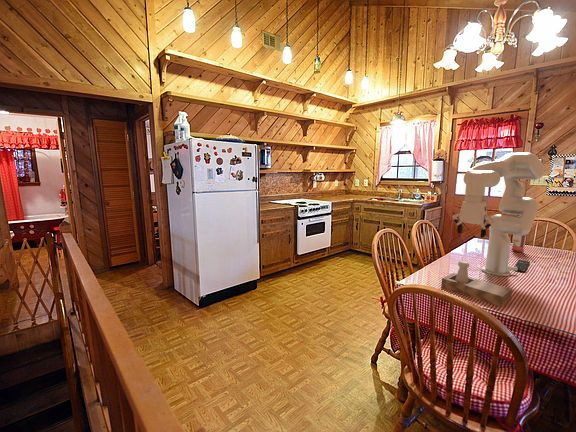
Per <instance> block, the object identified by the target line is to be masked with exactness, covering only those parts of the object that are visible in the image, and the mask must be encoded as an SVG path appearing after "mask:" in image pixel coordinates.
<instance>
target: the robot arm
mask: <svg viewBox="0 0 576 432" xmlns="http://www.w3.org/2000/svg"><path fill="white" fill-rule="evenodd" d="M544 174H545V166H544V164H543V162H542V160H540V158H539V156H537V155H536V154H534V153H532V152H510V153H506V154H504V155H503V156H501V157H499V158H498V159H496V160H494V161H491V162H486V163H483V164H479V165H475V166H473V167H471V168H470V169H469V170H467V171H466V172H465V173H464V176H463V182H464V184H465V193H464V200H463V201H462V204H461V207H460V212H458V213H456V214H453V215H452V219H453V222H454V223H455V224H456V226H457V228H456V232H457V234H458V235H461V234H462V233H463V223H464V224H472V225H479V227H481V229H480V238H483V239H484V238H485V237H486V236H487V229H489V238H488V242H487V243H488V246H487V252H486V253H487V254H486V259H485V260H486V261H485V265H484V266H482V267H481V271H482V272H484V273H486V274H488V275H489V274H490V275H492V276H498V277H508V276H510V275H511V271H513V270H514V272H516V271H517V270H518V268H517V267H515V266H512V265H509V260H510V259H509V258H510V253H511V252H510V251H511V245H512V242H511V240H512V239H511V238H510V236H509V235H513V236H514V235H519V236H525V235H526V236H528V235H529V233H530V231H531V229H532V226H533V223H534V221H535V220H536V216H537V213H538V210H539V209H538V208H539V203H538V200H537V199H535V198H533V197H526V196H524V195H525V193H526V188H525V186H524V185H523V183H522V182H521V181H520V180H531V181H535V180H536V181H537V180H540V179H541V178H542V177H543V176H544ZM501 178H503V179H504V180H503V181H504V183H505V184H504V185H505V187H504V192H503V193H502V196H501V199H500V202H499V204H498V211H499V212H501V213H497V214H493V215H492V216H488V210H487V207H488V206H487V202H485V201H488V197H486V195H485V194H486V188H493V187H496V186H498V184H499V183H500V182H501ZM502 213H503V214H502ZM520 216H521V217H520ZM458 217H459V219H458ZM487 221H488V223H487ZM508 234H509V235H508Z"/></svg>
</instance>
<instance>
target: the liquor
mask: <svg viewBox="0 0 576 432" xmlns="http://www.w3.org/2000/svg"><path fill="white" fill-rule="evenodd" d="M519 217H521V216H520V215H519ZM526 239H527V235H525V236H519V235H513V239H512V247H511V251H513V252H514V253H518V254H521V253H523V252H525V244H526Z"/></svg>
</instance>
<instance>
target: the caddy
mask: <svg viewBox="0 0 576 432" xmlns="http://www.w3.org/2000/svg"><path fill="white" fill-rule="evenodd" d="M457 273H458V272H457ZM457 273H456V272H453V273H451V274H448V275H446V276H444V277H441V284H440V285H441V286H440V288H442V287H443V288H442V289H445V290H449V291H452V292H454V291H455V293H457V292H459V293H458V294H460V293H462V294H461V295H463V294H465V295H464V296H466V295H467V296H466V297H469V296H470V297H471V298H472V297H473V299H475V300H479V301H481V302H485V303H487V304H491V305H494V306H497V307H500V308H501V307H503V306H504V305H506V304H507V303H508V302H509V301H511V299H512V297H513V290H514V289H513V288H509V287H506V286H502V285H499V284H495V283H492V282H488V281H485V280H481V279H478V278H473V277H470V276H468V282H469V283H468V284H465V283H462V282H458V281H455V279H456V276H457Z"/></svg>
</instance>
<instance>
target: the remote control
mask: <svg viewBox="0 0 576 432" xmlns="http://www.w3.org/2000/svg"><path fill="white" fill-rule="evenodd" d="M530 264H531V261H529V260H523V259H518V260H517V262H516V263H515V266H514V267H517V268H518V270H517V271H514V270H512V271H514V272H517V273H523V274H526V272H527V270H528V268H529V265H530Z"/></svg>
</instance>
